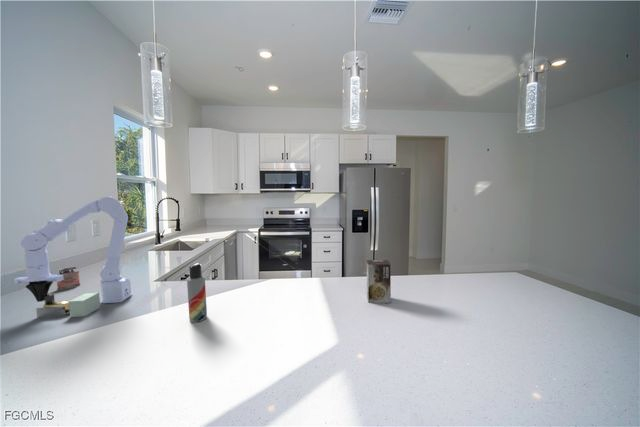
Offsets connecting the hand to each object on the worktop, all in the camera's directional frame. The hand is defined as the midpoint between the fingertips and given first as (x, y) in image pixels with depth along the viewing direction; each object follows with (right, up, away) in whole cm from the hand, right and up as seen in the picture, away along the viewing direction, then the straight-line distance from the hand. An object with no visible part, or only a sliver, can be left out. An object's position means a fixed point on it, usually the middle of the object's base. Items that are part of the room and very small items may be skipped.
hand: (41, 300), depth 95 cm
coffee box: (+129, -3, +9) cm, 130 cm away
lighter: (-17, -3, +28) cm, 33 cm away
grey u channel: (+5, -5, +1) cm, 7 cm away
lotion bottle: (+61, -5, -4) cm, 62 cm away
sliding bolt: (+6, -4, +1) cm, 7 cm away
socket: (+15, -5, +2) cm, 16 cm away
